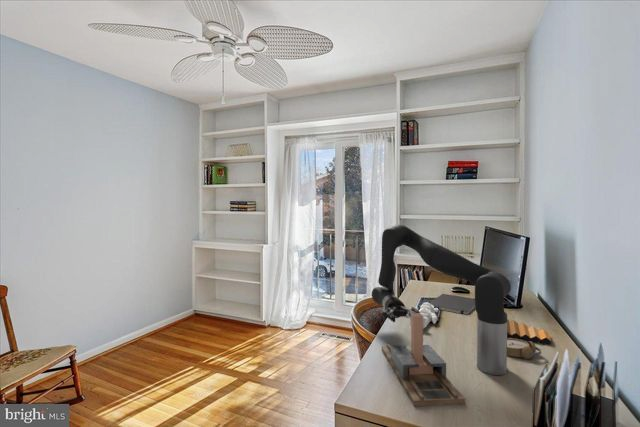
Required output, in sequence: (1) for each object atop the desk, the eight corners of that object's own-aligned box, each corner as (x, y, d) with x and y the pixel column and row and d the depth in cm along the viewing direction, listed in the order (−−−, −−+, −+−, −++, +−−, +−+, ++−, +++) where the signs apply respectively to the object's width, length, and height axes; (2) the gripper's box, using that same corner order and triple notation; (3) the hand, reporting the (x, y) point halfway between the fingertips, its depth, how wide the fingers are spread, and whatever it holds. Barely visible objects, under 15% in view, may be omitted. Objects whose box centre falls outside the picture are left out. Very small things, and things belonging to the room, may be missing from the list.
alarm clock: (500, 336, 137) (542, 339, 127) (502, 348, 136) (545, 352, 126) (491, 344, 129) (536, 348, 119) (494, 357, 128) (539, 363, 118)
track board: (381, 350, 130) (381, 344, 130) (419, 349, 131) (419, 343, 131) (413, 406, 94) (413, 397, 94) (464, 403, 95) (465, 395, 95)
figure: (431, 335, 149) (443, 315, 170) (431, 319, 148) (443, 301, 169) (403, 330, 156) (418, 311, 177) (403, 314, 155) (417, 297, 176)
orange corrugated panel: (484, 318, 168) (483, 335, 146) (484, 311, 168) (483, 328, 146) (542, 326, 156) (551, 346, 134) (543, 319, 156) (551, 338, 134)
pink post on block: (401, 363, 116) (401, 311, 116) (423, 362, 117) (424, 310, 116) (409, 374, 108) (409, 319, 108) (433, 373, 109) (433, 318, 108)
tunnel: (390, 359, 119) (390, 346, 119) (428, 358, 120) (428, 344, 120) (403, 380, 105) (403, 364, 105) (446, 378, 106) (446, 363, 106)
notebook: (442, 297, 207) (426, 308, 185) (442, 293, 207) (426, 304, 185) (480, 303, 194) (467, 315, 172) (480, 299, 194) (467, 311, 171)
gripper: (376, 297, 139) (387, 309, 123) (409, 296, 140) (424, 309, 124) (376, 314, 139) (386, 329, 123) (409, 314, 140) (424, 329, 124)
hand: (405, 319), depth 123 cm, fingers open, 8 cm apart
